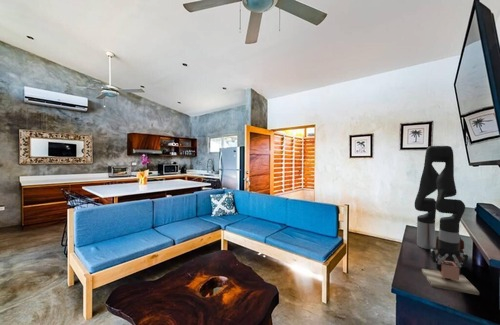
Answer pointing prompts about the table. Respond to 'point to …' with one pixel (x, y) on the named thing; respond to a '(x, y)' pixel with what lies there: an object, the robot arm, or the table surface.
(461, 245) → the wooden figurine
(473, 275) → the table surface
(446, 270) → the bead
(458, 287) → the peg board
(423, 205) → the robot arm
